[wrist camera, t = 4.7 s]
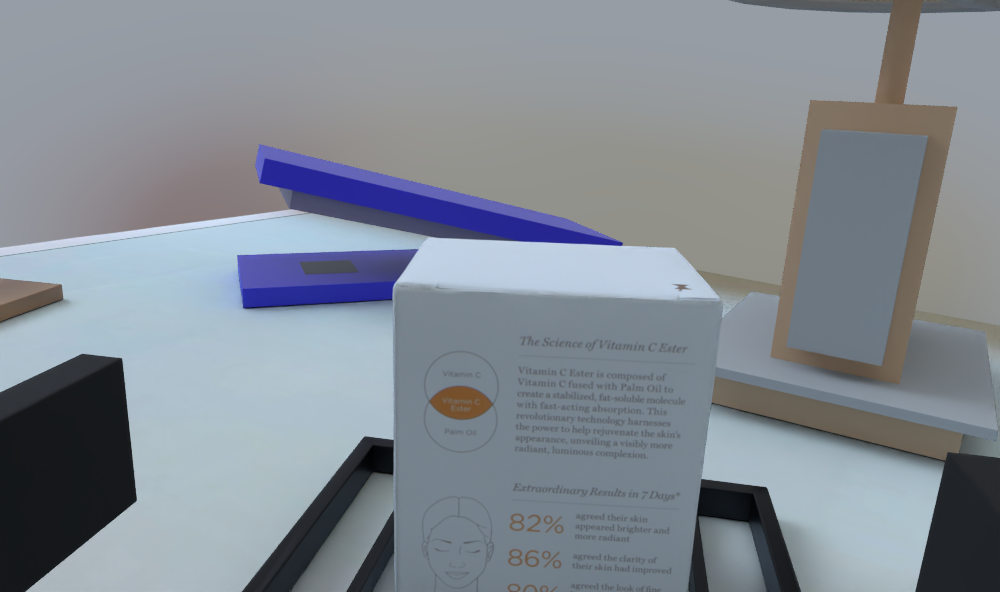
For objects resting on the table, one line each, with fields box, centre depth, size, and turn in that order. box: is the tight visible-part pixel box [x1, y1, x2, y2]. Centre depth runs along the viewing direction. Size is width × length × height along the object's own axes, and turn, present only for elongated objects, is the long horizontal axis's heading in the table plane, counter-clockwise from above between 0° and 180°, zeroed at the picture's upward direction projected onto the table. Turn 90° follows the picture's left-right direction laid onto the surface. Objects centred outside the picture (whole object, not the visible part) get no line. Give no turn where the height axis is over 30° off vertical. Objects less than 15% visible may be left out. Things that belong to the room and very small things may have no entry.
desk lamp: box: [711, 0, 1000, 461], centre depth 36 cm, size 20×20×35 cm
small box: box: [393, 238, 723, 592], centre depth 21 cm, size 8×6×10 cm
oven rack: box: [242, 437, 801, 592], centre depth 23 cm, size 16×13×1 cm
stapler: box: [237, 145, 623, 308], centre depth 57 cm, size 12×28×10 cm, turn 110°
